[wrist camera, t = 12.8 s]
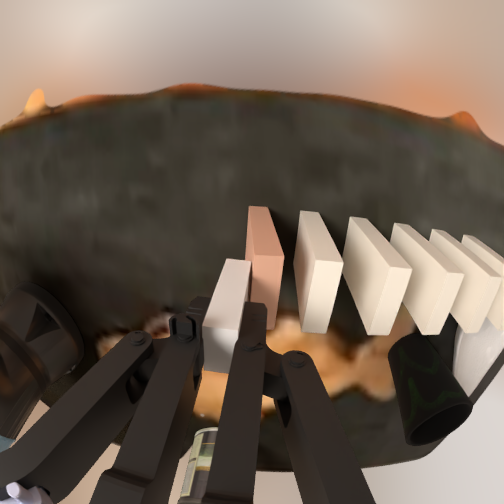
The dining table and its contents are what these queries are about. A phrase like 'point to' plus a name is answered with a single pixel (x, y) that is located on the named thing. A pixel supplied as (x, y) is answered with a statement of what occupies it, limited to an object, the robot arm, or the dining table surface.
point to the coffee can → (198, 466)
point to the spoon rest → (475, 354)
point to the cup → (426, 391)
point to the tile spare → (264, 261)
